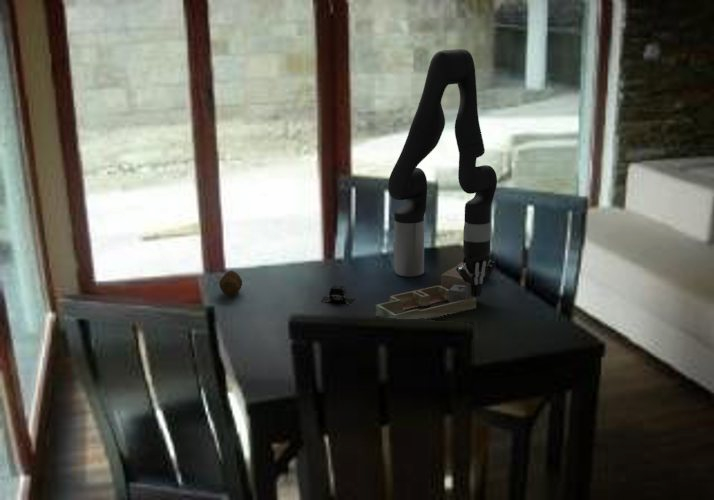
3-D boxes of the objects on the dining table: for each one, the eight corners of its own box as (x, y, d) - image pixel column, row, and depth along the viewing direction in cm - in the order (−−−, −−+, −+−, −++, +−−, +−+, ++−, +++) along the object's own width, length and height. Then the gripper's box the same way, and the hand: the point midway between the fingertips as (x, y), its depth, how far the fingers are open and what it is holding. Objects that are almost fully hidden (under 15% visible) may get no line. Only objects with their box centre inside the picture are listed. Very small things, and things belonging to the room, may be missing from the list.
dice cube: (471, 303, 234) (471, 286, 232) (465, 308, 229) (466, 292, 228) (454, 301, 236) (454, 284, 234) (448, 306, 231) (448, 289, 230)
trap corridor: (366, 311, 229) (366, 299, 228) (445, 293, 242) (445, 282, 241) (394, 327, 217) (394, 315, 216) (476, 308, 230) (476, 296, 229)
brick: (464, 293, 242) (464, 278, 241) (438, 288, 247) (439, 273, 246) (488, 277, 256) (489, 263, 254) (464, 273, 260) (464, 259, 259)
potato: (219, 301, 239) (218, 279, 237) (220, 289, 250) (218, 267, 248) (243, 300, 240) (241, 277, 238) (242, 287, 251) (241, 265, 249)
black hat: (361, 299, 240) (361, 284, 239) (355, 308, 233) (355, 293, 232) (321, 296, 243) (320, 282, 242) (313, 305, 236) (313, 290, 235)
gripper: (487, 230, 236) (485, 287, 241) (449, 238, 230) (449, 296, 235) (504, 236, 230) (502, 295, 235) (466, 244, 224) (465, 304, 229)
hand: (475, 295), depth 235 cm, fingers closed
